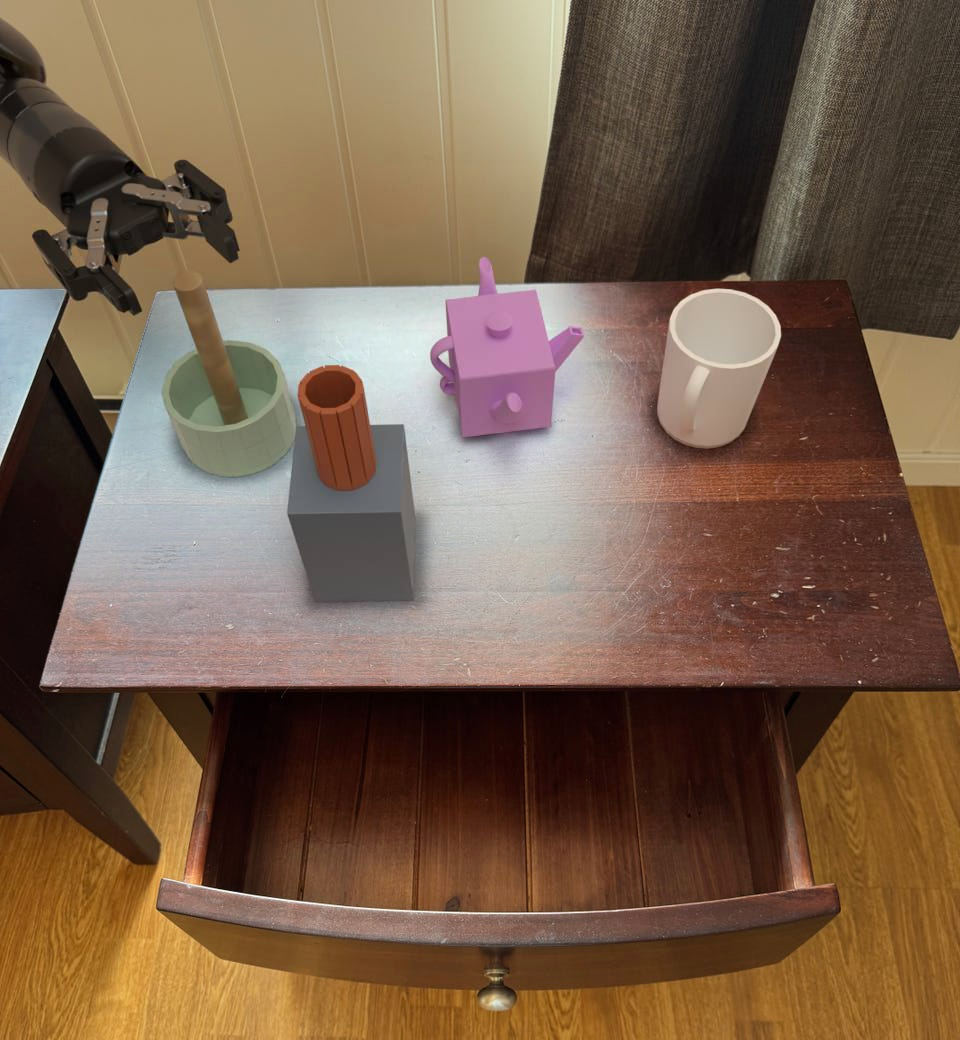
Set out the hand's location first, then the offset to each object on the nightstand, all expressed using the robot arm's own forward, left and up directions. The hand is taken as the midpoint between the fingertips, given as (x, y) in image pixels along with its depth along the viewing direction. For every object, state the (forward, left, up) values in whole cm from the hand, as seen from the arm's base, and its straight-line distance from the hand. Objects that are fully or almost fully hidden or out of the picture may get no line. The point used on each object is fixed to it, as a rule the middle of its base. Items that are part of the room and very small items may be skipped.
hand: (185, 277), depth 72 cm
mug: (+41, 0, -17) cm, 45 cm away
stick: (0, 0, -16) cm, 16 cm away
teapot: (+24, +3, -17) cm, 30 cm away
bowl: (0, 0, -17) cm, 17 cm away
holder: (+12, -14, -17) cm, 25 cm away
